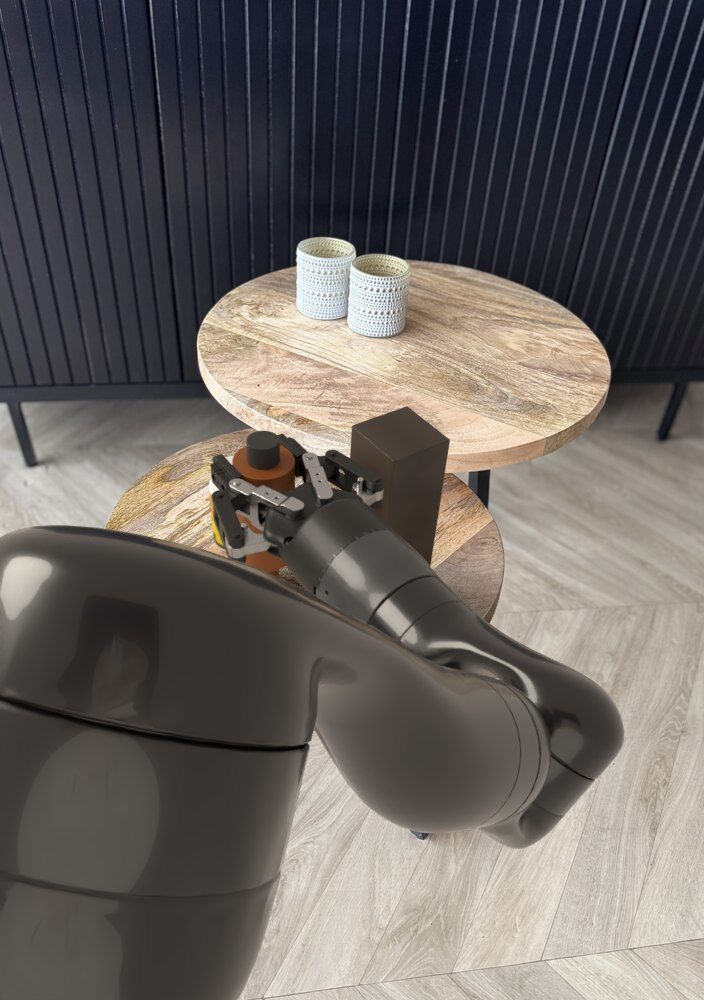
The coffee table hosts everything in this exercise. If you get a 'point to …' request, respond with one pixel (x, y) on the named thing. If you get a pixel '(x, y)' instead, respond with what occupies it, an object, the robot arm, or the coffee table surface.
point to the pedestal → (405, 472)
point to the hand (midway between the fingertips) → (247, 454)
